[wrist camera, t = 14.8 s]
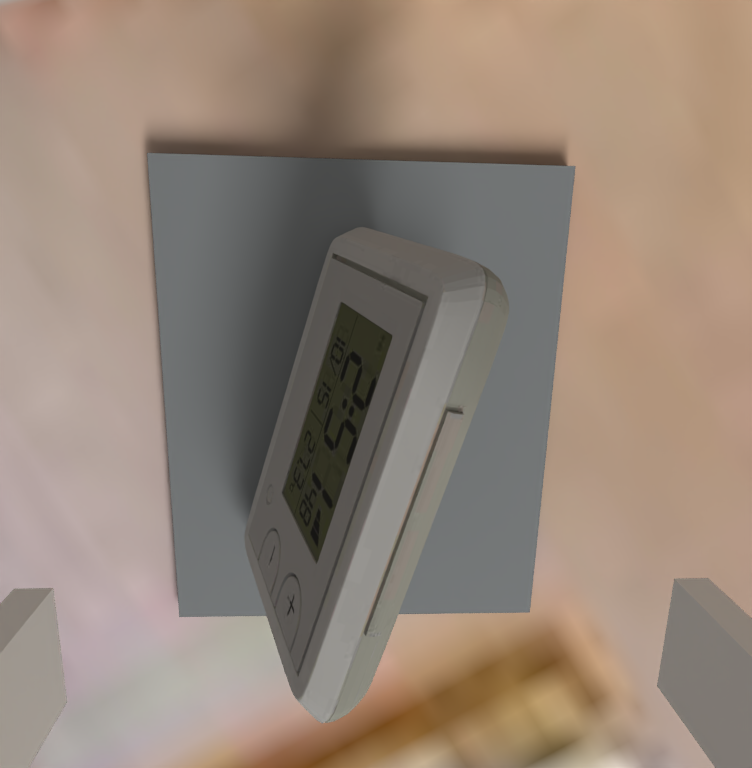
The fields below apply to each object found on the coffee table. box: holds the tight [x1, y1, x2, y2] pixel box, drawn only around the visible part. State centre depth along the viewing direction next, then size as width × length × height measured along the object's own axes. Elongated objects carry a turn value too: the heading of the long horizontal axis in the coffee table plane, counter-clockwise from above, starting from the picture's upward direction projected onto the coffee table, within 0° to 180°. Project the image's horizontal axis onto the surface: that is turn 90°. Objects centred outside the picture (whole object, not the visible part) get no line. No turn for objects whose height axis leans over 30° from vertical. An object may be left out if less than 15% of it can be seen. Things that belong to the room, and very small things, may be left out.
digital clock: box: [244, 227, 509, 723], centre depth 23 cm, size 16×9×11 cm, turn 150°
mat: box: [147, 153, 575, 617], centre depth 28 cm, size 22×18×1 cm
